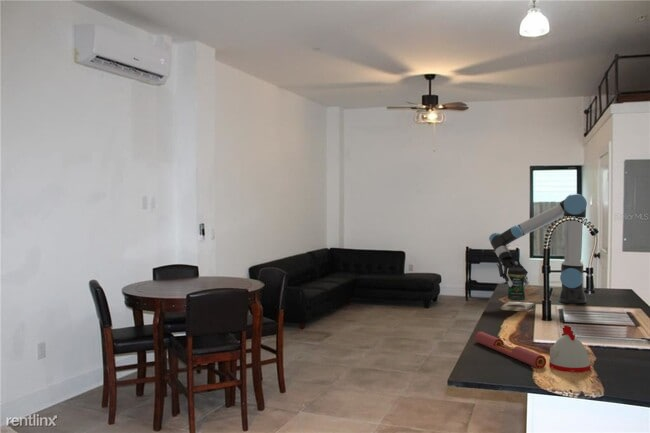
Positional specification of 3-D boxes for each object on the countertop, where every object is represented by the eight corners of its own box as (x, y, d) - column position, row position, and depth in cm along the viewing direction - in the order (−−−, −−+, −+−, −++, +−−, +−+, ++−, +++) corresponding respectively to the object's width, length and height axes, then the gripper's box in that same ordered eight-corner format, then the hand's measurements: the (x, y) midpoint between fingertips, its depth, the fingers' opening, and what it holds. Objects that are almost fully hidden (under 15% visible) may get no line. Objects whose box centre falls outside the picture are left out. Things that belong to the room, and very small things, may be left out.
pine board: (533, 305, 329) (533, 302, 329) (526, 311, 312) (526, 308, 312) (509, 303, 337) (509, 301, 337) (500, 309, 320) (500, 306, 320)
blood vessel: (475, 343, 247) (474, 332, 247) (485, 342, 248) (484, 331, 248) (534, 369, 207) (534, 356, 207) (546, 368, 208) (546, 354, 208)
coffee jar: (506, 300, 323) (506, 268, 323) (508, 298, 330) (508, 266, 330) (524, 301, 319) (524, 268, 318) (526, 299, 326) (525, 267, 326)
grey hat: (578, 360, 215) (578, 321, 215) (597, 371, 201) (596, 329, 201) (543, 362, 215) (542, 323, 214) (559, 373, 201) (558, 331, 201)
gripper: (518, 258, 342) (534, 287, 327) (484, 260, 336) (499, 290, 321) (523, 250, 336) (539, 279, 321) (489, 251, 331) (504, 282, 316)
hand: (519, 285), depth 321 cm, fingers closed on coffee jar, 10 cm apart
